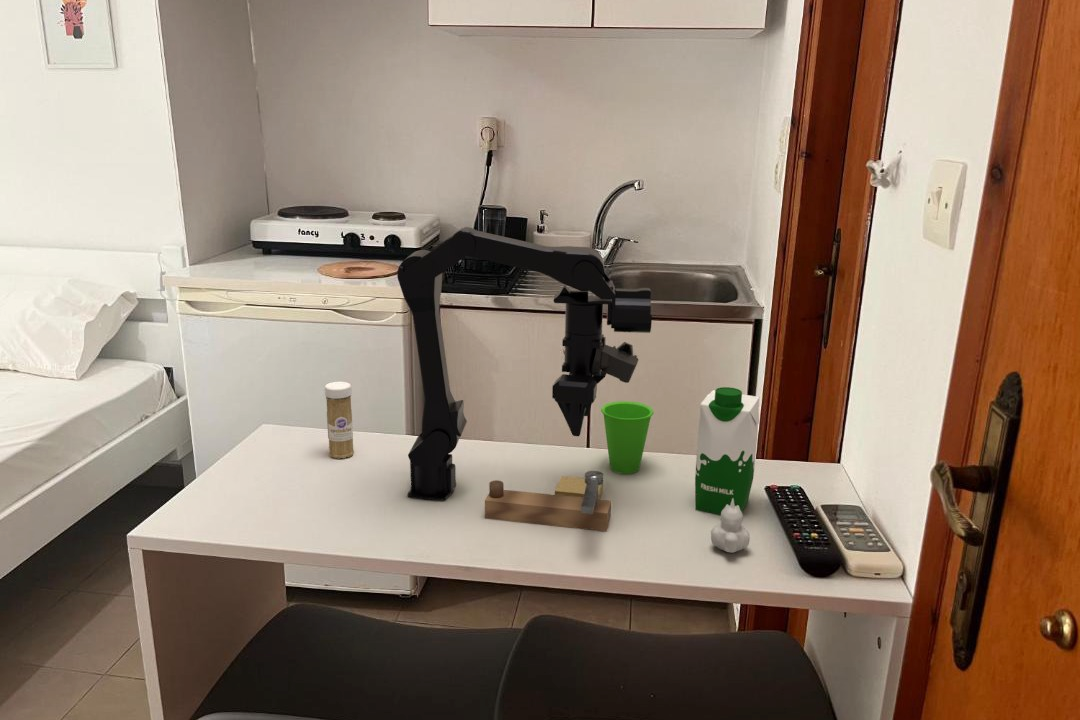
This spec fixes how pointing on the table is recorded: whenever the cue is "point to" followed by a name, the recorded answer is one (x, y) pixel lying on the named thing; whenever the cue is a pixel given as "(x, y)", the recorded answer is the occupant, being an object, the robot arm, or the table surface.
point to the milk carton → (726, 449)
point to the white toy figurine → (730, 530)
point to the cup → (626, 434)
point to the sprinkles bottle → (339, 419)
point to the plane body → (544, 509)
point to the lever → (591, 490)
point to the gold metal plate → (574, 487)
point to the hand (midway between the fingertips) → (581, 425)
